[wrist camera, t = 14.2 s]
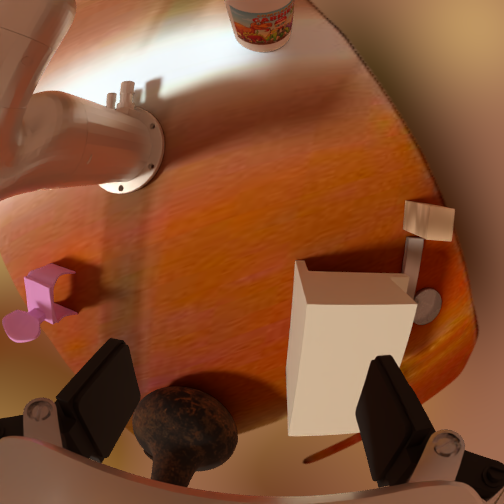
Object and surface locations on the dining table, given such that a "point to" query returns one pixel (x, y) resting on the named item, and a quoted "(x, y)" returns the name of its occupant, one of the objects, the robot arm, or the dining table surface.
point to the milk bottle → (261, 23)
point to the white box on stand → (340, 343)
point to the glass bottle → (183, 433)
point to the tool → (423, 234)
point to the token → (426, 305)
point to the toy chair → (37, 304)
